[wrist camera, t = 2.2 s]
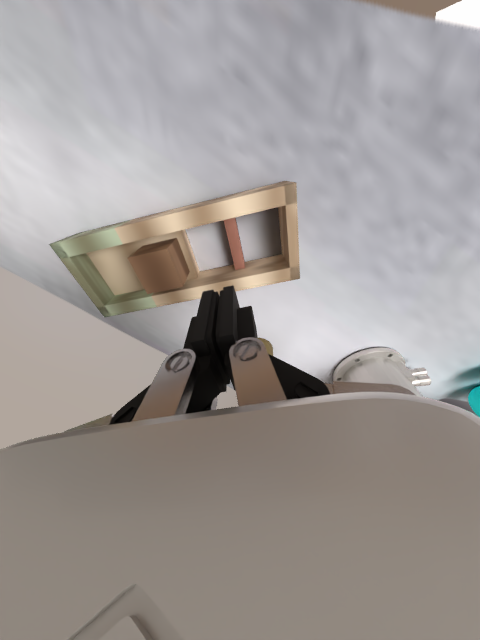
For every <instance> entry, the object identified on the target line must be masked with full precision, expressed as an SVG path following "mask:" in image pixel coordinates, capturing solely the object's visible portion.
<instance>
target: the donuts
mask: <svg viewBox="0 0 480 640" xmlns="http://www.w3.org/2000/svg"><path fill="white" fill-rule="evenodd" d="M468 401H469V404H470V406H471V408H472V410H473V411H474V412H475V413H476V414H477V415H478V416H479V417H480V386H478V387H475V388H474V389H472V390H471V391H470V393H469V396H468Z"/></svg>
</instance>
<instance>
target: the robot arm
mask: <svg viewBox="0 0 480 640" xmlns="http://www.w3.org/2000/svg"><path fill="white" fill-rule="evenodd" d="M405 365H406V364H405V360H404V358H403V357H402V356H401V355H400V354H399V352H397V351H395V350H393V349H390V348H370V349H366V350H362V351H359V352H357V353H355V354H353V355H351V356H349V357H347V358H346V359H345V360H343V361H342V362H341V363H340V364H339V365H338V366H337V368H336V369H335V371H334V374H333V384H326V383H323V382H322V381H320V380H319V379H317V378H315V377H313V376H311V375H309V374H307V373H305V372H304V371H302V370H300V369H298V368H296V367H294V366H292V365H290V364H288V363H286V362H284V361H282V360H280V359H278V358H276V357H274V356H272V355H270V354H268V352H267V350H266V348H265V345H264V344H263V342H262V341H261V340H259V339H258V338H257V331H256V325H255V320H254V315H253V310H252V306H248V307H243V308H239V304H238V300H237V296H236V292H235V288H234V285H232V286H227V287H223V290H221V291H220V295H219V294H218V292H217V291H216V292H214V290H208V291H203V292H202V296H201V300H200V304H199V308H198V313H197V316H196V317H193V318H192V319H191V323H190V326H189V330H188V334H187V337H186V341H185V344H184V348H183V349H180V350H177V351H175V352H173V353H171V354H170V355H169V356H168V357H167V358H166V359H165V360H164V361H163V363H162V365H161V367H160V369H159V371H158V373H157V374H156V376H155V378H154V380H153V382H152V384H151V385H150V386H148V387H147V388H146V389H145V390H143V391H142V392H141V393H140V394H138V395H137V396H136V397H135V398H133V399H132V400H131V401H130V402H128V403H127V404H126V405H125V406H123V407H122V408H121V409H120V410H119V411H118V412H117V413H116V414H115V415H113V414H110V415H107V416H105V417H102V418H99V419H96V420H94V421H91V422H88V423H86V424H83V425H80V426H78V427H75V428H72V429H69V430H67V431H65V432H62V433H56V434H52V435H47V436H43V437H38V438H34V439H30V440H27V441H24V442H20V443H17V444H14V445H11V446H9V447H6V448H3V449H0V640H480V417H478V416H476V415H475V414H473V413H471V412H469V411H467V410H464V409H462V408H460V407H457V406H454V405H451V404H448V403H445V402H441V401H438V400H434V399H430V398H425V397H423V396H422V394H421V393H420V392H419V391H418V390H417V388H416V387H415V386H425V385H430V384H431V379H430V378H429V376H428V375H427V371H426V369H425V368H416V369H412V370H410V369H407V367H406V366H405ZM230 379H231V382H232V384H233V387H234V390H235V391H236V394H237V399H238V405H239V407H231V408H224V409H217V410H216V406H217V395H219V393H221V392H225V391H226V384H230Z"/></svg>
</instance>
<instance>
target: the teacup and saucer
mask: <svg viewBox="0 0 480 640" xmlns="http://www.w3.org/2000/svg"><path fill="white" fill-rule="evenodd" d="M435 19H436V20H440V21H446V22H450V23H454V24H455V23H456V24H460V25H464V26H470V27H474V28H480V0H462V1H460V2H457V3H456V4H453V5H451V6H449V7H447V8H445V9H443V10H440V11H438V12H437V13H436V18H435Z"/></svg>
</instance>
